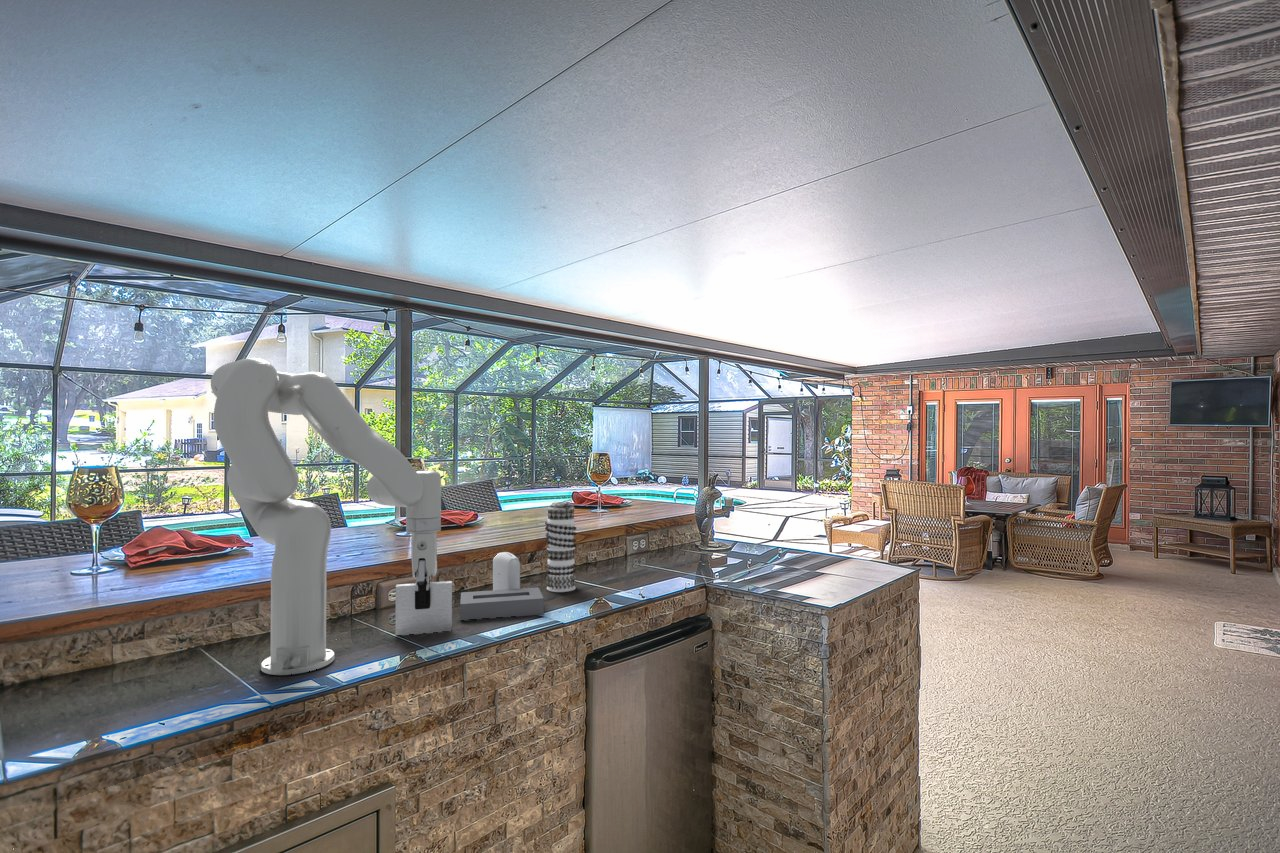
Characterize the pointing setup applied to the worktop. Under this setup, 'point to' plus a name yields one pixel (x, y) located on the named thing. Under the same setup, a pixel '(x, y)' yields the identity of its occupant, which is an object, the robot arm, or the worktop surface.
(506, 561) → the white rounded box
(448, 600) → the cover plate
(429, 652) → the worktop surface
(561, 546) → the decorative candle
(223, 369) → the robot arm
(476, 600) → the slot holder
